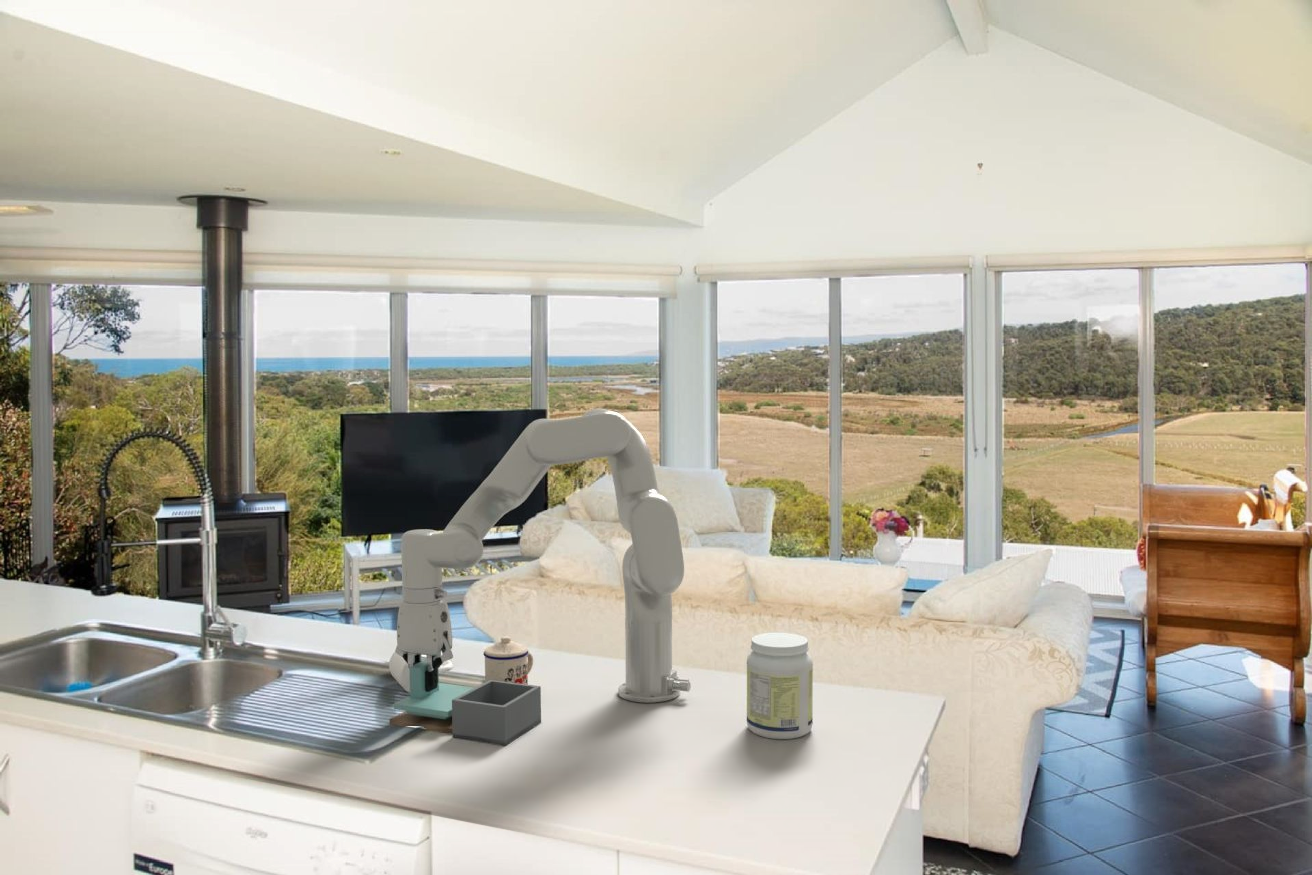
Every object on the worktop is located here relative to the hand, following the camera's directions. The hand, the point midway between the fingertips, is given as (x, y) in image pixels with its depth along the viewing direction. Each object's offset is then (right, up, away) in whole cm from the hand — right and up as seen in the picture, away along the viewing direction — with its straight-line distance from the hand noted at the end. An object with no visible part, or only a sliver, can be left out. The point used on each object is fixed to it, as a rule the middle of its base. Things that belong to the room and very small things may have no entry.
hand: (424, 687), depth 202 cm
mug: (-4, -4, +18) cm, 19 cm away
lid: (+4, -3, -1) cm, 5 cm away
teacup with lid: (+15, -4, +15) cm, 21 cm away
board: (+4, -5, -1) cm, 7 cm away
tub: (+15, -6, -8) cm, 18 cm away
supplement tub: (+67, -6, -9) cm, 68 cm away
